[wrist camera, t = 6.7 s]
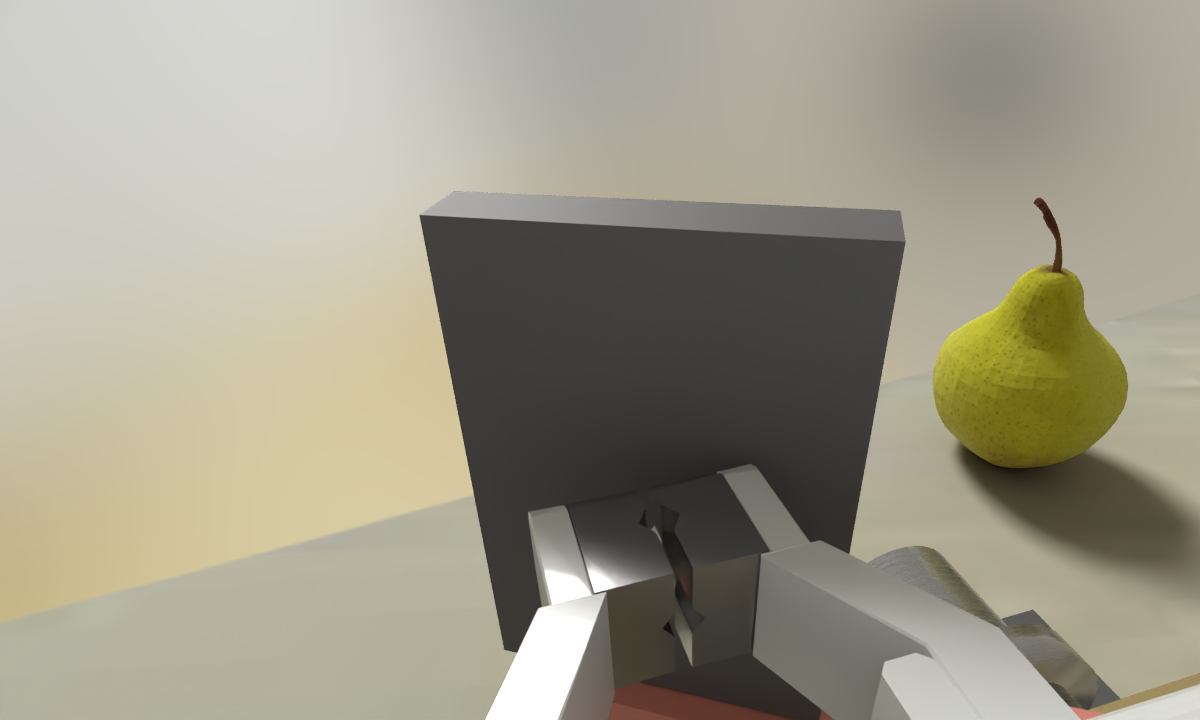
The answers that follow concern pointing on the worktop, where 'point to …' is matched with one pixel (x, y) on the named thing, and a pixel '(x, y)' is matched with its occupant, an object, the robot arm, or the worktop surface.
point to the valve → (1019, 632)
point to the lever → (662, 379)
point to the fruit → (1031, 373)
